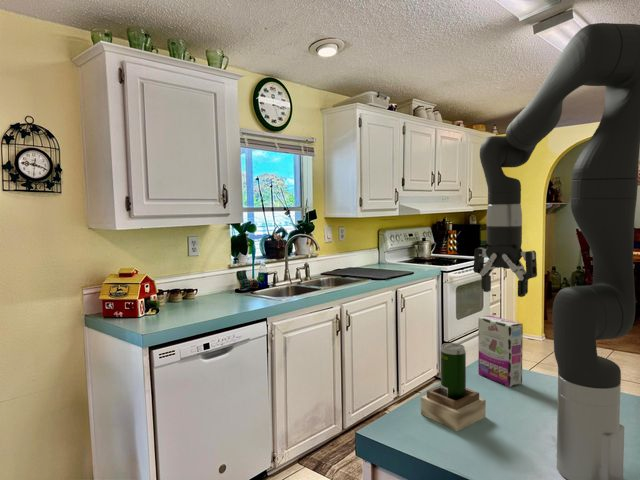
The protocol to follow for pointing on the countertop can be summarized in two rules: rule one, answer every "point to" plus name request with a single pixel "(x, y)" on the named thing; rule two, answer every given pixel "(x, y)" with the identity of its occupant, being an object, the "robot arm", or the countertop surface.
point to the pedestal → (453, 408)
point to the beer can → (453, 371)
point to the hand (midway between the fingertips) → (503, 293)
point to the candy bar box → (500, 350)
